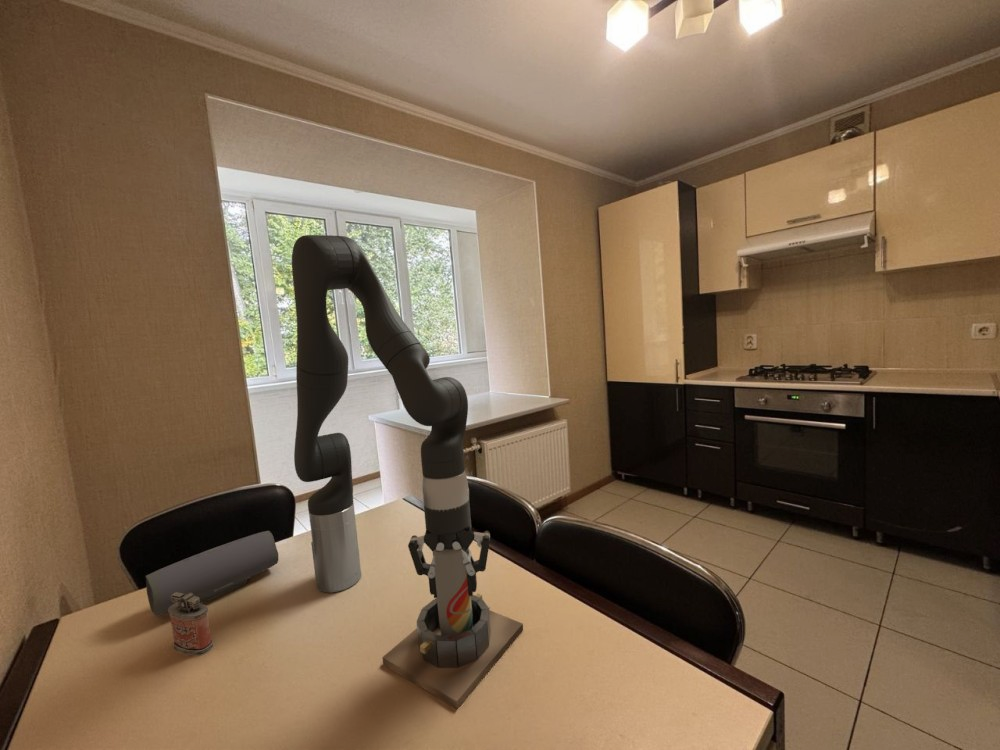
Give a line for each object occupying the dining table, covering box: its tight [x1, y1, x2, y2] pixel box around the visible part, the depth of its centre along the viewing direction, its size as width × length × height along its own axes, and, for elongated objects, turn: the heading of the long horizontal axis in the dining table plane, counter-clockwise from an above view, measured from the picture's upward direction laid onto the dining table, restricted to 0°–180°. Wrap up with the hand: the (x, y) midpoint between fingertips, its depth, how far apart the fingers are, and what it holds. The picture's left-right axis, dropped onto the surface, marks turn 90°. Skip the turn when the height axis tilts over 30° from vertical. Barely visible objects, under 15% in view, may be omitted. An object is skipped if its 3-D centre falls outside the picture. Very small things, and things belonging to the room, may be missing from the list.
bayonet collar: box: [416, 593, 491, 668], centre depth 70 cm, size 12×15×4 cm
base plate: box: [382, 605, 524, 710], centre depth 71 cm, size 16×19×1 cm
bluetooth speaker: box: [145, 530, 279, 618], centre depth 91 cm, size 23×9×10 cm, turn 139°
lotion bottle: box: [432, 533, 473, 636], centre depth 70 cm, size 6×6×20 cm
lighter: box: [168, 592, 214, 656], centre depth 74 cm, size 8×3×10 cm, turn 71°
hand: (454, 593), depth 70 cm, fingers closed on lotion bottle, 5 cm apart
